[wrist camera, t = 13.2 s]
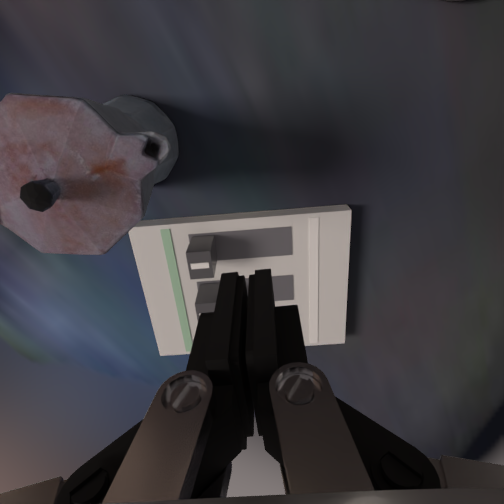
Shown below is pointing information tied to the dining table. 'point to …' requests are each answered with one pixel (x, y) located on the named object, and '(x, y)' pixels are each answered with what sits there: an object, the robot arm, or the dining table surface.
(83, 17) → the dining table surface
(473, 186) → the dining table surface
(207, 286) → the block
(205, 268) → the block
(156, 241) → the panel
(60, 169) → the moka pot
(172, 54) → the dining table surface
